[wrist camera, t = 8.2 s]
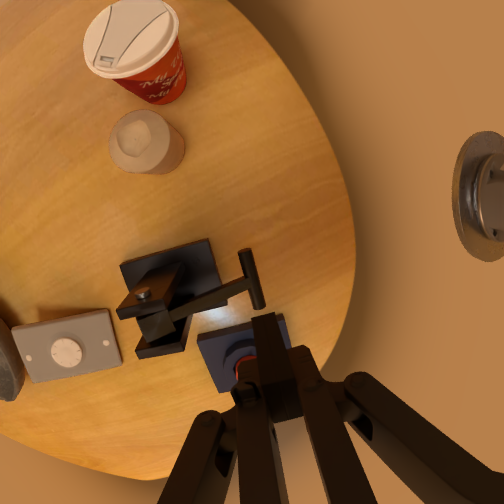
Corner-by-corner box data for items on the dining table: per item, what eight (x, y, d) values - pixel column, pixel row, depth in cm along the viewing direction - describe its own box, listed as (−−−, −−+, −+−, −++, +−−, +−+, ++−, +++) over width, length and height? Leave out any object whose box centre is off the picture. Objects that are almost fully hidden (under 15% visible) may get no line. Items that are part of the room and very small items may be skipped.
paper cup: (179, 121, 29) (145, 81, 15) (121, 105, 27) (61, 67, 14) (207, 62, 27) (195, -4, 14) (149, 49, 26) (109, -13, 12)
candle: (129, 162, 29) (91, 157, 20) (152, 119, 28) (122, 96, 19) (170, 182, 30) (145, 184, 21) (194, 138, 29) (178, 121, 20)
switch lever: (244, 246, 28) (256, 249, 26) (259, 301, 30) (271, 307, 28) (125, 292, 23) (127, 300, 21) (150, 349, 25) (155, 361, 23)
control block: (282, 313, 35) (287, 326, 32) (295, 367, 37) (300, 382, 34) (197, 334, 35) (195, 349, 32) (219, 385, 37) (218, 402, 34)
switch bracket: (208, 237, 32) (197, 269, 21) (227, 301, 34) (228, 357, 23) (122, 262, 32) (77, 301, 21) (145, 320, 34) (116, 377, 23)
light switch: (124, 369, 34) (32, 388, 26) (117, 349, 39) (35, 365, 31) (109, 314, 32) (9, 333, 24) (105, 298, 37) (16, 315, 29)
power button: (261, 351, 33) (262, 360, 31) (267, 373, 34) (269, 382, 32) (232, 359, 33) (232, 367, 31) (240, 380, 34) (240, 389, 32)
